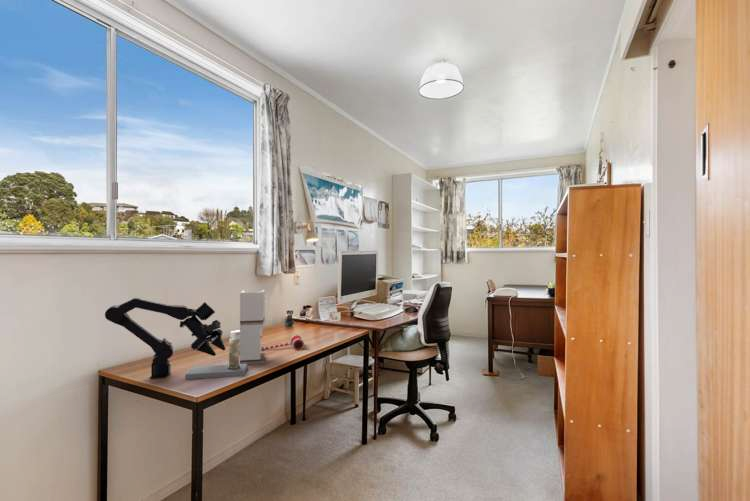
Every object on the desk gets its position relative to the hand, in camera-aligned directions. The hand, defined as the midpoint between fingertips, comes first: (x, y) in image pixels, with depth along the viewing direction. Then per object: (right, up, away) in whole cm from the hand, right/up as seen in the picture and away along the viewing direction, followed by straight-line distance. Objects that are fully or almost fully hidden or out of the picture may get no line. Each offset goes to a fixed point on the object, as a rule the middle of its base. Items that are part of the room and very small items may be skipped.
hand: (220, 352), depth 169 cm
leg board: (0, -9, -2) cm, 9 cm away
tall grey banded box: (+9, -9, +18) cm, 22 cm away
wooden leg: (+6, -9, 0) cm, 11 cm away
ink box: (-3, -9, +34) cm, 35 cm away
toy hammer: (+21, -10, +41) cm, 47 cm away
